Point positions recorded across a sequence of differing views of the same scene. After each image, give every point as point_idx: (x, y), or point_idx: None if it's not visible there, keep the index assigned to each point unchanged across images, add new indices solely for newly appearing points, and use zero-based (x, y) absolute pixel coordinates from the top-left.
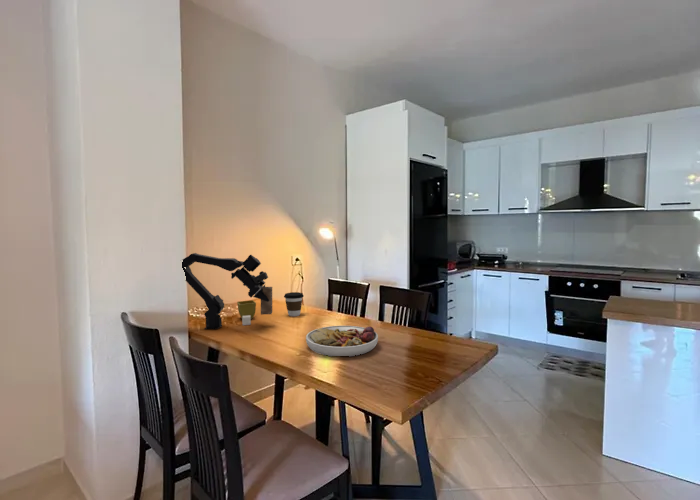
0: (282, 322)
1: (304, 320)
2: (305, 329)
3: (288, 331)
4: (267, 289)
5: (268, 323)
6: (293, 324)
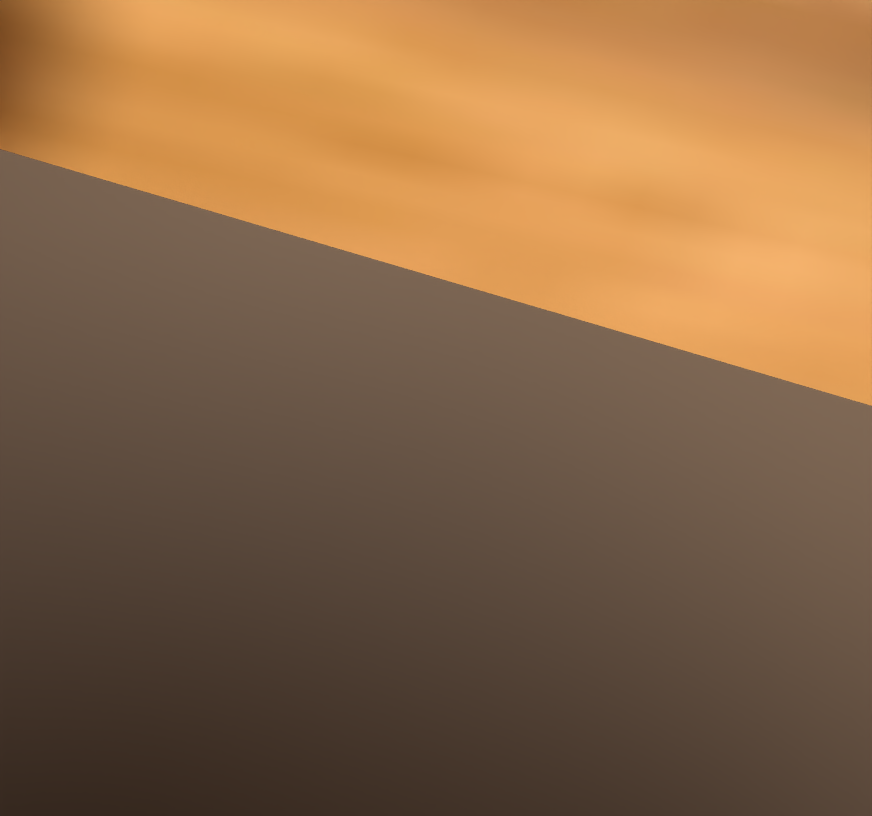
0: None
1: (292, 31)
2: (790, 135)
3: (823, 378)
4: (809, 797)
5: None
6: (453, 225)
